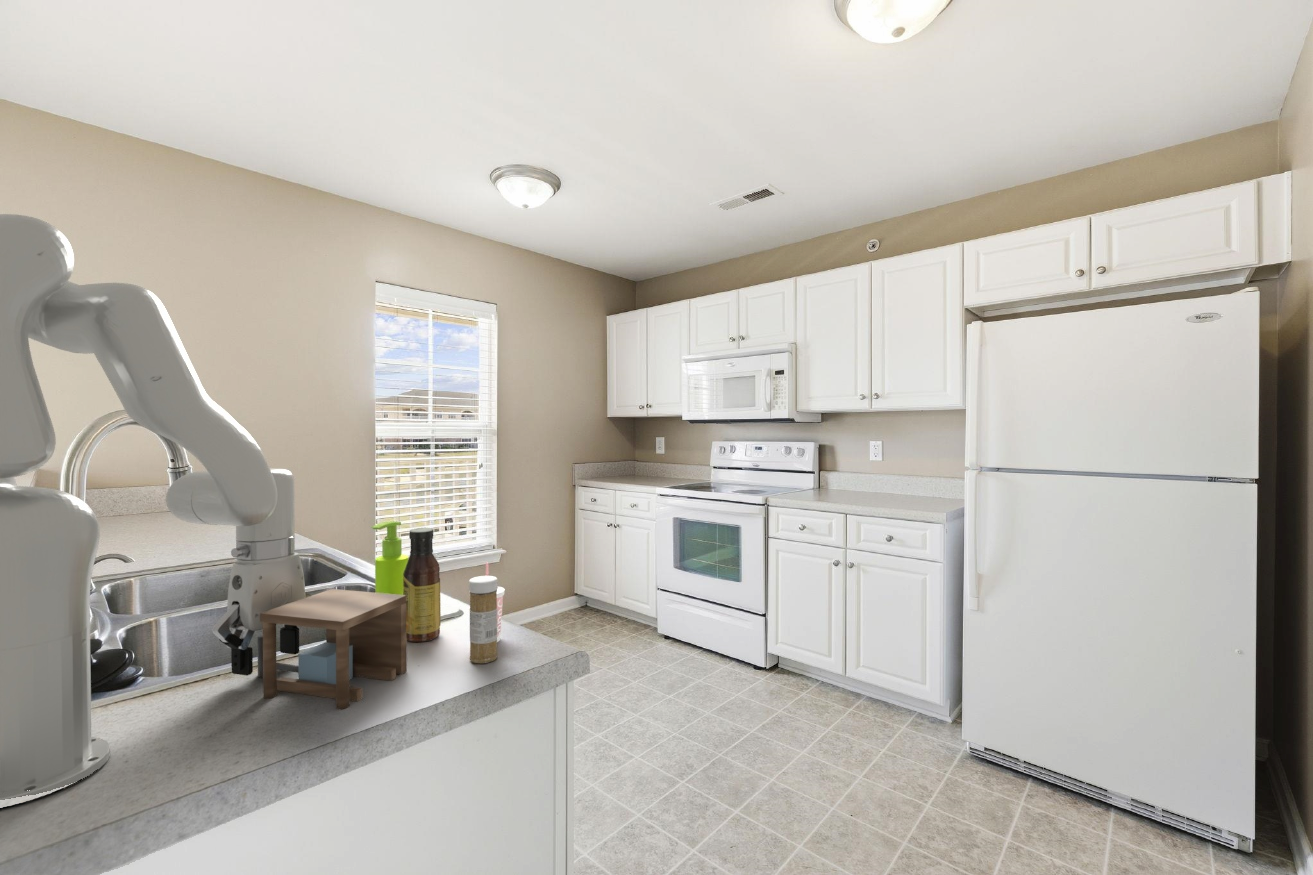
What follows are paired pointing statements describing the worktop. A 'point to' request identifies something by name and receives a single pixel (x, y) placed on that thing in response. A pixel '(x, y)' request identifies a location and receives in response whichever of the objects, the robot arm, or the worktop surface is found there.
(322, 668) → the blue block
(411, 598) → the sauce bottle
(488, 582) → the sprinkles bottle
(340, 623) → the walnut shelf
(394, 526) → the soap dispenser
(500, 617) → the beverage cup
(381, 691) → the worktop surface
